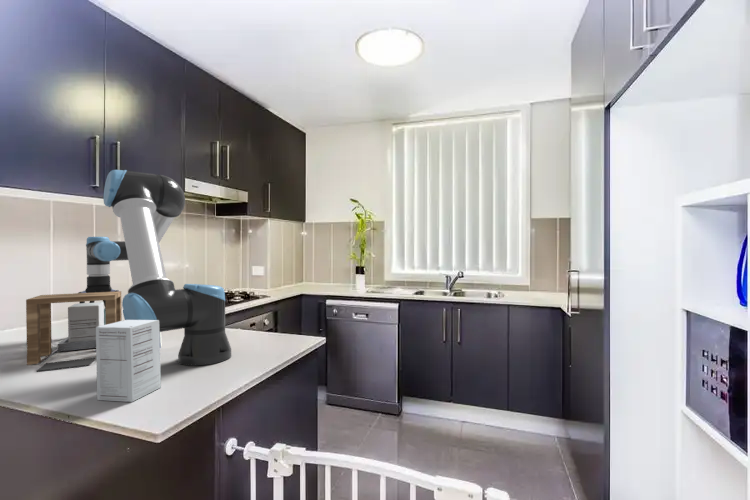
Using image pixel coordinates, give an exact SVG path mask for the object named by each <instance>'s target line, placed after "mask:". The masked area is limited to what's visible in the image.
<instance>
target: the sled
mask: <svg viewBox="0 0 750 500" xmlns="http://www.w3.org/2000/svg"><path fill="white" fill-rule="evenodd" d="M105 317H106V309H105V308H104V325H105ZM57 348H58V351H57V352H66V351H75V350H77V351H79V350H87V349H88V348H89V349H95V348H96V340H89V341H79V342H68V336H67V337H66V338H65V339H63V340H61V342H58V343H57ZM78 349H79V350H78Z"/></svg>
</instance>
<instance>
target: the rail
mask: <svg viewBox="0 0 750 500" xmlns="http://www.w3.org/2000/svg"><path fill="white" fill-rule="evenodd" d="M57 352H59V351H58V347H57V348H56V349H55V350H52V353H51V354H49V355H48V356H44V357H43V358H42V359H41V361H40V362H38V364H37V365H42V364H43V363H44V362H46V361H47V360H48V359H49V358H51V357H52V356H53V355H54V354H56V353H57Z"/></svg>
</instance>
